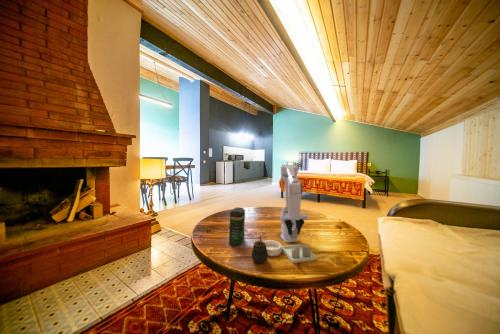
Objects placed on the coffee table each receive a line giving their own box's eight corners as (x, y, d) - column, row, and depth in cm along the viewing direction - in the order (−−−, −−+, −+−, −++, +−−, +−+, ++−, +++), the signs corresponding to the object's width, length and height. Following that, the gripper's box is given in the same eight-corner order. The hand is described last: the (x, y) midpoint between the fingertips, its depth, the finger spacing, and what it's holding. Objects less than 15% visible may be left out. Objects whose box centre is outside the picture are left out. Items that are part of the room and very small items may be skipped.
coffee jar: (241, 246, 97) (242, 211, 96) (227, 245, 99) (227, 210, 98) (246, 238, 107) (246, 206, 106) (232, 237, 108) (233, 205, 107)
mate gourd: (252, 265, 80) (252, 242, 80) (250, 256, 88) (250, 235, 88) (269, 264, 81) (269, 242, 81) (265, 256, 89) (266, 235, 88)
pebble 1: (290, 255, 88) (290, 247, 88) (297, 254, 89) (297, 246, 89) (293, 259, 84) (293, 251, 84) (300, 258, 85) (301, 250, 85)
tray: (280, 249, 95) (281, 246, 95) (302, 247, 98) (302, 244, 98) (292, 263, 82) (292, 260, 82) (316, 260, 85) (316, 256, 85)
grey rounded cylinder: (288, 235, 94) (289, 228, 93) (295, 235, 94) (295, 227, 94) (292, 238, 90) (292, 230, 90) (298, 238, 91) (299, 230, 91)
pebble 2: (300, 254, 89) (301, 246, 89) (307, 253, 90) (307, 245, 90) (304, 258, 86) (305, 249, 86) (311, 257, 87) (312, 249, 86)
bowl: (258, 246, 97) (258, 241, 97) (276, 244, 100) (276, 239, 100) (264, 256, 88) (264, 250, 88) (284, 254, 90) (284, 248, 90)
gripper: (284, 210, 86) (283, 239, 87) (312, 208, 89) (311, 236, 90) (278, 206, 93) (277, 233, 93) (304, 205, 96) (303, 230, 97)
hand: (293, 234), depth 92 cm, fingers closed on grey rounded cylinder, 4 cm apart
